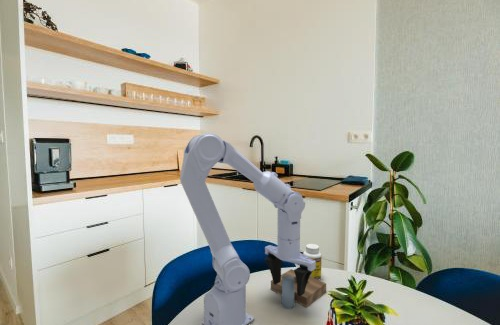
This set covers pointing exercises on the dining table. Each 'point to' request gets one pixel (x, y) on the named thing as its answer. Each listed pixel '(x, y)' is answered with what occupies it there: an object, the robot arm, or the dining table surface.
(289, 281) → the dowel
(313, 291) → the socket block
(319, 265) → the supplement bottle
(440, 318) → the dining table surface
